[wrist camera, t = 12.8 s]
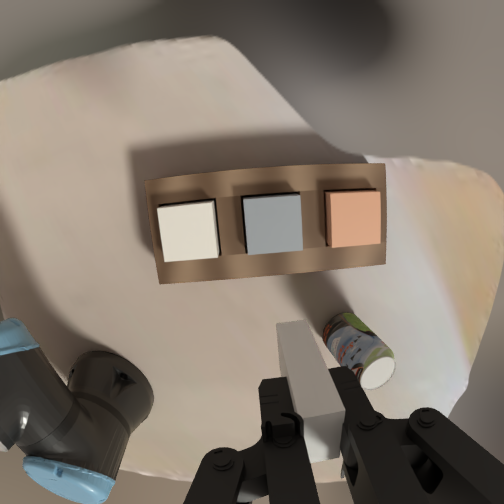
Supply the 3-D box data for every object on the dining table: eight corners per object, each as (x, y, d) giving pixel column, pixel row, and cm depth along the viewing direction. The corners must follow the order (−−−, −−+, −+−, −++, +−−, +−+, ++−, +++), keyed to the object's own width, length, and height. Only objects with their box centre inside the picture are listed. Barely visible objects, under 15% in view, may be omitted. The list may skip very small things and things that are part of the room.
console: (169, 270, 40) (159, 284, 35) (156, 178, 37) (144, 180, 32) (370, 253, 40) (385, 264, 35) (368, 163, 37) (385, 163, 32)
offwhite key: (172, 252, 36) (164, 262, 32) (166, 204, 35) (157, 208, 31) (220, 248, 36) (217, 257, 32) (215, 198, 35) (211, 202, 31)
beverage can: (320, 312, 42) (344, 360, 30) (368, 305, 42) (404, 348, 30) (319, 349, 43) (340, 402, 32) (365, 342, 43) (396, 389, 32)
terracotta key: (323, 239, 36) (332, 247, 32) (321, 190, 35) (330, 193, 31) (367, 235, 36) (380, 243, 32) (366, 189, 35) (380, 191, 31)
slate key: (247, 245, 36) (248, 255, 32) (243, 196, 35) (243, 199, 31) (296, 241, 36) (302, 250, 32) (294, 192, 35) (300, 195, 31)
